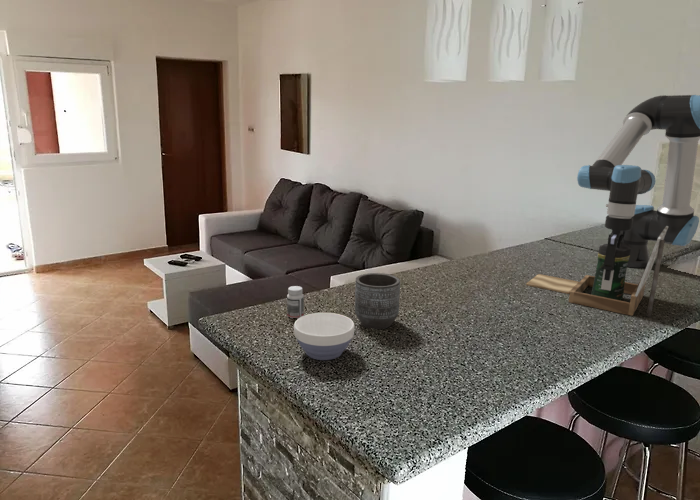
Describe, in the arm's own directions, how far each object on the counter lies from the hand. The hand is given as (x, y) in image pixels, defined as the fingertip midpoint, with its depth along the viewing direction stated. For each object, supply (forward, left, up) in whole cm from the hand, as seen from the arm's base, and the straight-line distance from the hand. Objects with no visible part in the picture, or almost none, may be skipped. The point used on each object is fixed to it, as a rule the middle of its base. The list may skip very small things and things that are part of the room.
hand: (609, 285), depth 164 cm
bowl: (+86, -47, -5) cm, 98 cm away
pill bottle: (+73, -68, -5) cm, 100 cm away
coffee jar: (0, 0, -5) cm, 5 cm away
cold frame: (0, +2, -5) cm, 5 cm away
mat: (-4, -18, -4) cm, 19 cm away
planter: (+63, -47, -5) cm, 79 cm away
